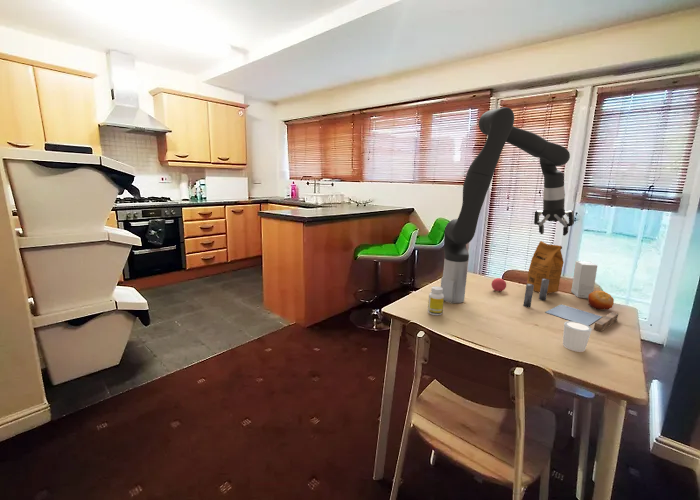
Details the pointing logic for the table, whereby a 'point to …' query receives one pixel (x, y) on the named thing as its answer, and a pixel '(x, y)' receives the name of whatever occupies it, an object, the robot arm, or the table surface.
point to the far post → (543, 289)
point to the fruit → (600, 300)
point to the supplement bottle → (436, 301)
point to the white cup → (576, 336)
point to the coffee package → (546, 267)
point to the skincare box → (584, 278)
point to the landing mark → (574, 314)
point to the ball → (498, 284)
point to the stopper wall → (605, 321)
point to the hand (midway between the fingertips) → (553, 234)
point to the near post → (528, 295)
